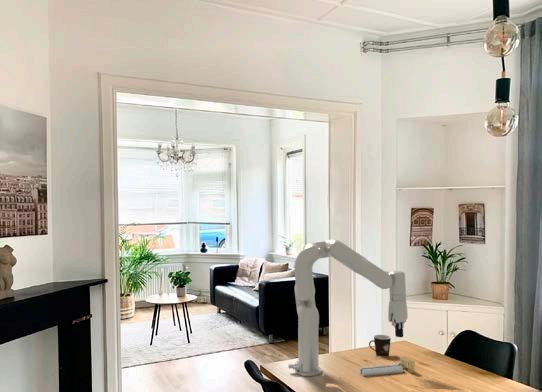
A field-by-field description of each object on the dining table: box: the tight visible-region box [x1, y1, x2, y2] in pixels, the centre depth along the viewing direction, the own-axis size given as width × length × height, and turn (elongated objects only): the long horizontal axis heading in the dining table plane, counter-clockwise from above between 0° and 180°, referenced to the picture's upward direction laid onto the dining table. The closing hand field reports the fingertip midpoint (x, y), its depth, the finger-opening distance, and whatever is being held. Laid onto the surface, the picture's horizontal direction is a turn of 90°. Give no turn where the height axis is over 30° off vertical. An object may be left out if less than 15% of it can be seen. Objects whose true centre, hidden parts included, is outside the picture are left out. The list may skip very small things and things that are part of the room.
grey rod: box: [358, 362, 402, 375], centre depth 195 cm, size 21×2×3 cm, turn 104°
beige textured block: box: [399, 355, 416, 374], centre depth 197 cm, size 3×7×5 cm, turn 15°
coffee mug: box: [368, 334, 392, 357], centre depth 221 cm, size 12×9×10 cm
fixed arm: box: [361, 366, 404, 377], centre depth 193 cm, size 20×1×2 cm, turn 105°
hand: (399, 336), depth 199 cm, fingers closed
